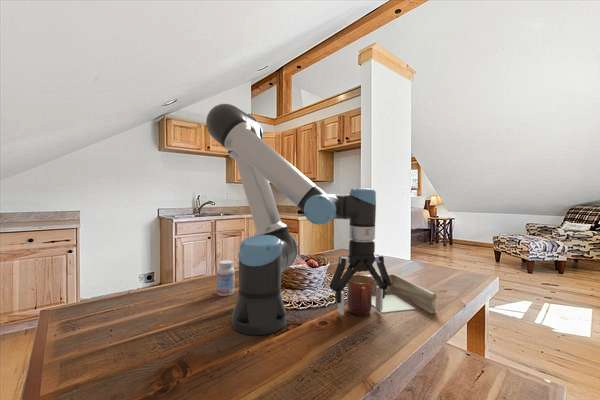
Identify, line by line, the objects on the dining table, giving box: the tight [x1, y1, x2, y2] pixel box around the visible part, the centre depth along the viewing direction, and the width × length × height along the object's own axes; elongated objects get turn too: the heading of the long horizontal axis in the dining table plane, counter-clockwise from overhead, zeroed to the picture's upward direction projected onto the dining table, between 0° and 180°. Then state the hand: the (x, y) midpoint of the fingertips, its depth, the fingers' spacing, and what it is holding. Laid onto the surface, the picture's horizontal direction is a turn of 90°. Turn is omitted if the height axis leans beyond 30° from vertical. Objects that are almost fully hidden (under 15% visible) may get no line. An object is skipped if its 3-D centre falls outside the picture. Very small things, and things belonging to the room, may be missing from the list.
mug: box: [346, 274, 375, 317], centre depth 84 cm, size 12×9×10 cm
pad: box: [372, 294, 417, 314], centre depth 92 cm, size 12×12×1 cm
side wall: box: [364, 272, 394, 293], centre depth 103 cm, size 14×2×6 cm, turn 105°
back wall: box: [392, 273, 437, 314], centre depth 96 cm, size 2×21×6 cm, turn 15°
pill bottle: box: [216, 259, 236, 297], centre depth 98 cm, size 6×6×11 cm
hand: (360, 311), depth 84 cm, fingers open, 12 cm apart
